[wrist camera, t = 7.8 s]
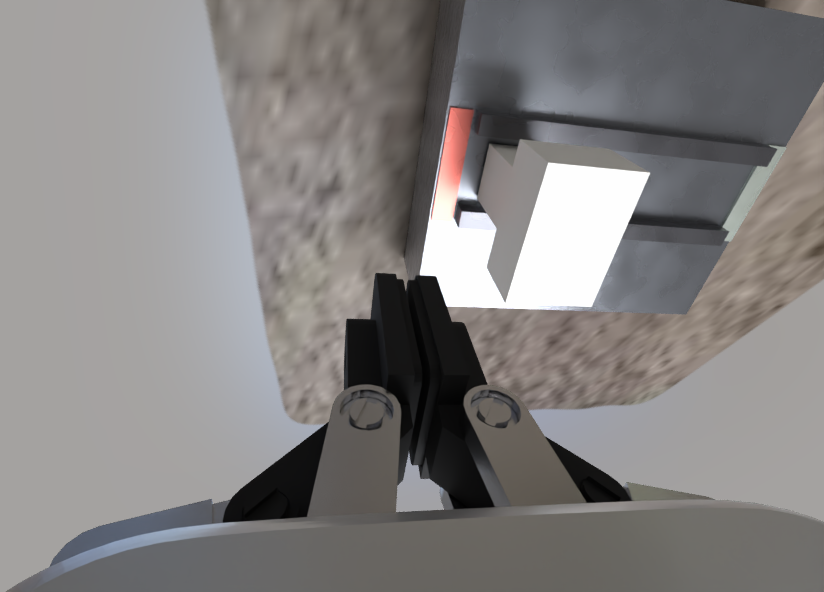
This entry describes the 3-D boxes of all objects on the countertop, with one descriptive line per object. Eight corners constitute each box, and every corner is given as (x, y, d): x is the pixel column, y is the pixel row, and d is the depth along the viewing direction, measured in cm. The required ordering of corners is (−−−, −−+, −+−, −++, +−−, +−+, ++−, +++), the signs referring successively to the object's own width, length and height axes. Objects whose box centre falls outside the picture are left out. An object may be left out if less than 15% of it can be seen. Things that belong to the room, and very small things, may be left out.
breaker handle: (486, 111, 22) (548, 162, 15) (561, 120, 22) (650, 172, 16) (462, 222, 25) (505, 303, 19) (528, 227, 26) (591, 306, 19)
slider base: (445, -39, 23) (479, -49, 17) (763, 18, 27) (877, 26, 21) (404, 258, 33) (416, 314, 27) (640, 271, 37) (695, 322, 31)
